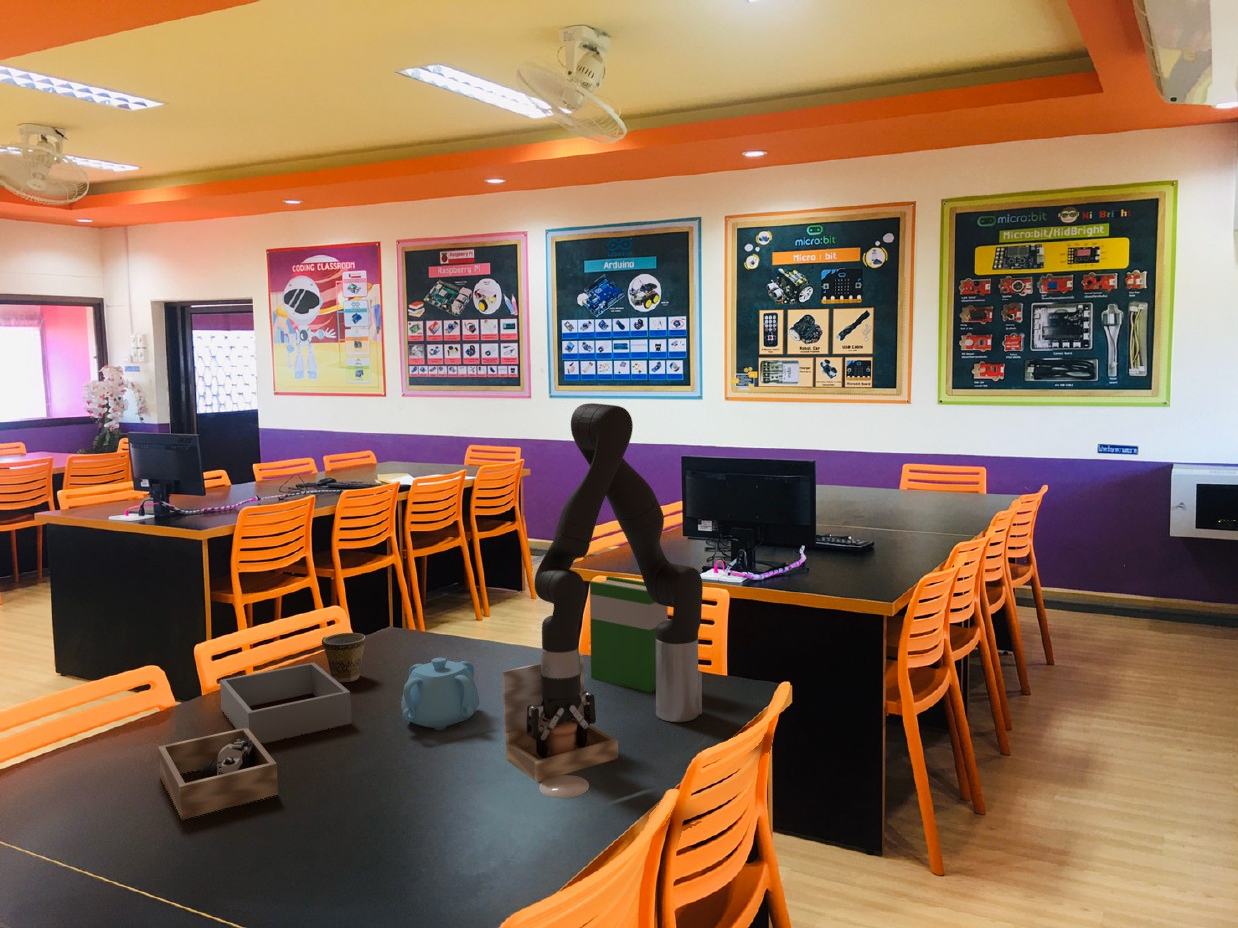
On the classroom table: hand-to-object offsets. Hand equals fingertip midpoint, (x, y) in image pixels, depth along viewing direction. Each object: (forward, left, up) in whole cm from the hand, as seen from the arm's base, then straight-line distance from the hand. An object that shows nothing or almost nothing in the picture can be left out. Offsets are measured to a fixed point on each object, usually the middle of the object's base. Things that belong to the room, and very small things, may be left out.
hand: (562, 751), depth 184 cm
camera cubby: (+57, -28, -2) cm, 63 cm away
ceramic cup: (+18, -75, -2) cm, 77 cm away
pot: (0, 0, -2) cm, 2 cm away
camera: (+55, -27, -2) cm, 62 cm away
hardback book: (-38, -30, -2) cm, 48 cm away
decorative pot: (+10, -34, -2) cm, 35 cm away
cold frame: (0, 0, -2) cm, 2 cm away
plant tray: (+37, -56, -2) cm, 67 cm away
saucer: (+6, +10, -2) cm, 12 cm away
